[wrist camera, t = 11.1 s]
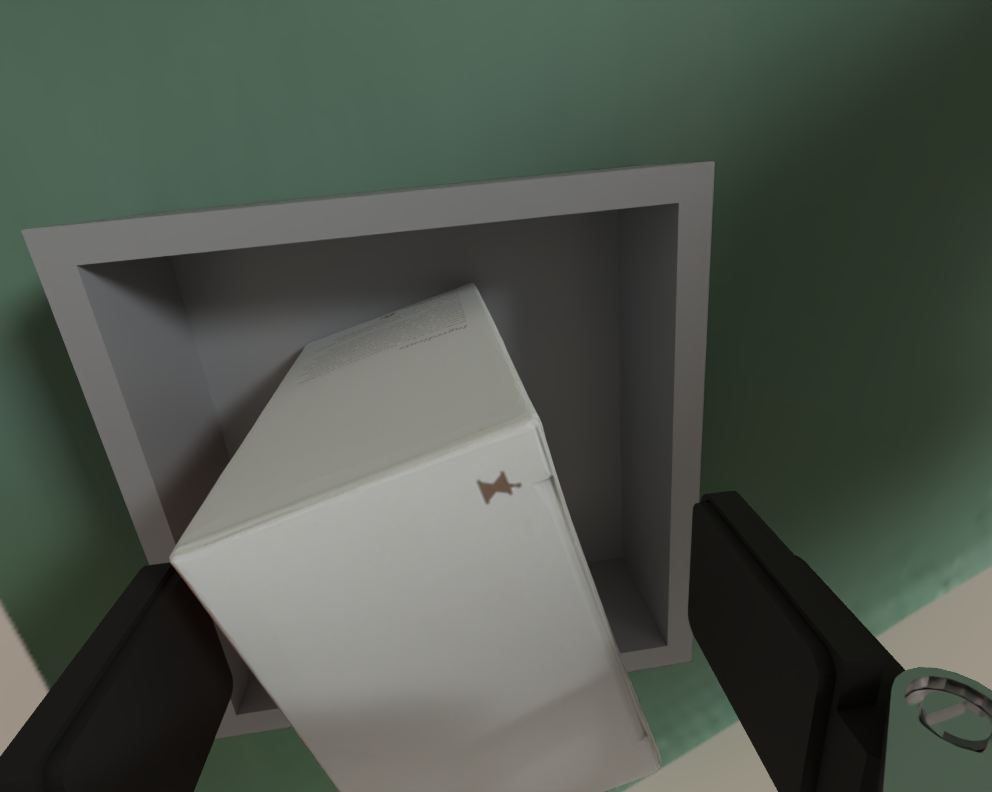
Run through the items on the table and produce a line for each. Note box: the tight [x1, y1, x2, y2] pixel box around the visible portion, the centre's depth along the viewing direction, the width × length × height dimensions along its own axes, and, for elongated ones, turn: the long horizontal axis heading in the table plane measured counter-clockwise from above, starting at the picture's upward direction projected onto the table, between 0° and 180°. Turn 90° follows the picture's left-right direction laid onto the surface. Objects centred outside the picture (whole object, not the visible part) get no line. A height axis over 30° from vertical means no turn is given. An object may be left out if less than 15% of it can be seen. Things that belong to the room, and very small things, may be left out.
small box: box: [169, 282, 662, 792], centre depth 14 cm, size 8×6×10 cm
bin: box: [21, 161, 715, 739], centre depth 17 cm, size 15×15×5 cm
